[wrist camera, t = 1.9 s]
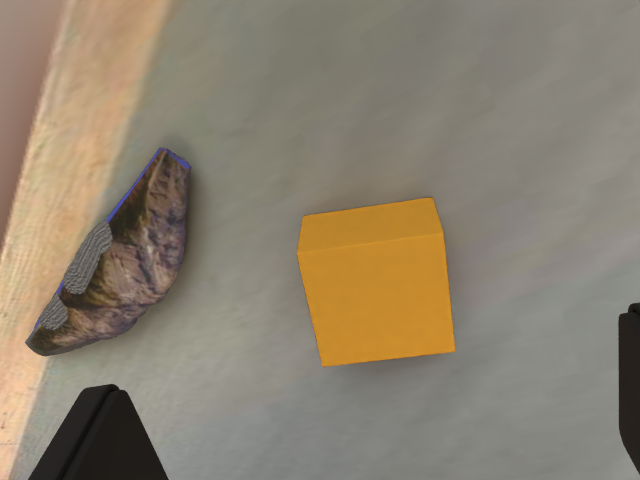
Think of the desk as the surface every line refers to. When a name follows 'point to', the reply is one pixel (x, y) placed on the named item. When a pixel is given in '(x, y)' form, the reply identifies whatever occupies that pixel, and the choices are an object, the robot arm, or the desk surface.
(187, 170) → the decorative rock
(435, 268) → the small orange block
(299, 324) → the desk surface
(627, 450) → the robot arm
